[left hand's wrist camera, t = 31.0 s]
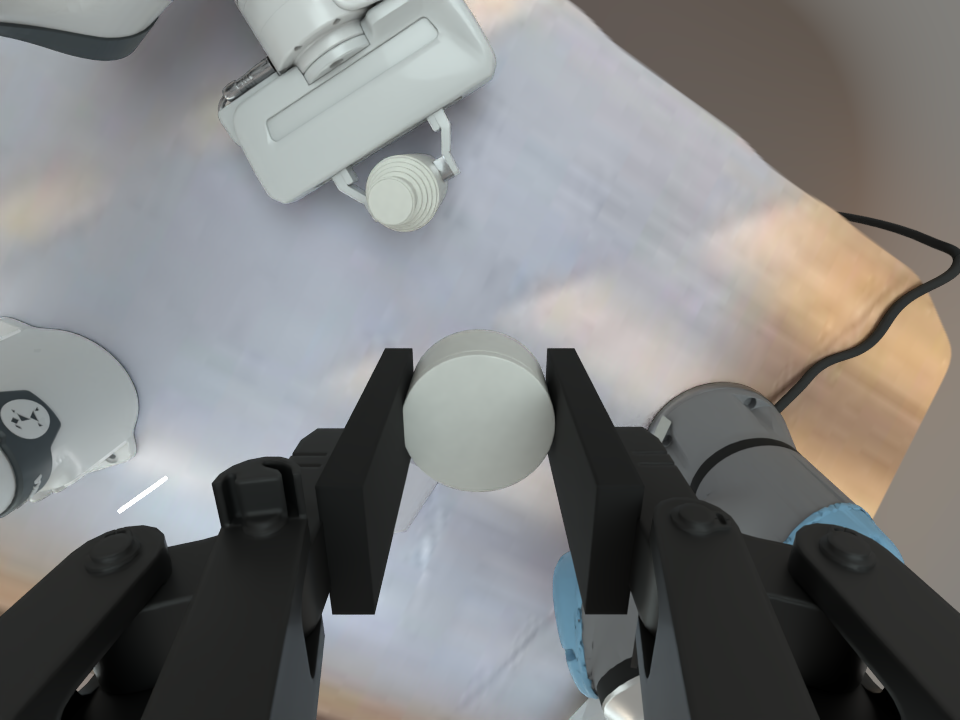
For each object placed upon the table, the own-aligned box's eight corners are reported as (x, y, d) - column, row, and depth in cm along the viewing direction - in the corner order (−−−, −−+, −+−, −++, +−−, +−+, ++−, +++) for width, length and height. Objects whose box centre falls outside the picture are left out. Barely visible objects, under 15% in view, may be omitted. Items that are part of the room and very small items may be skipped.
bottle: (456, 167, 47) (446, 179, 30) (435, 219, 49) (415, 259, 31) (404, 143, 46) (363, 140, 29) (385, 197, 48) (335, 225, 30)
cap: (400, 437, 15) (389, 477, 13) (424, 315, 14) (415, 339, 12) (526, 462, 15) (533, 504, 13) (561, 344, 14) (574, 373, 12)
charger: (318, 514, 61) (372, 418, 56) (388, 543, 63) (445, 453, 58) (306, 542, 57) (363, 440, 52) (381, 572, 59) (443, 477, 54)
